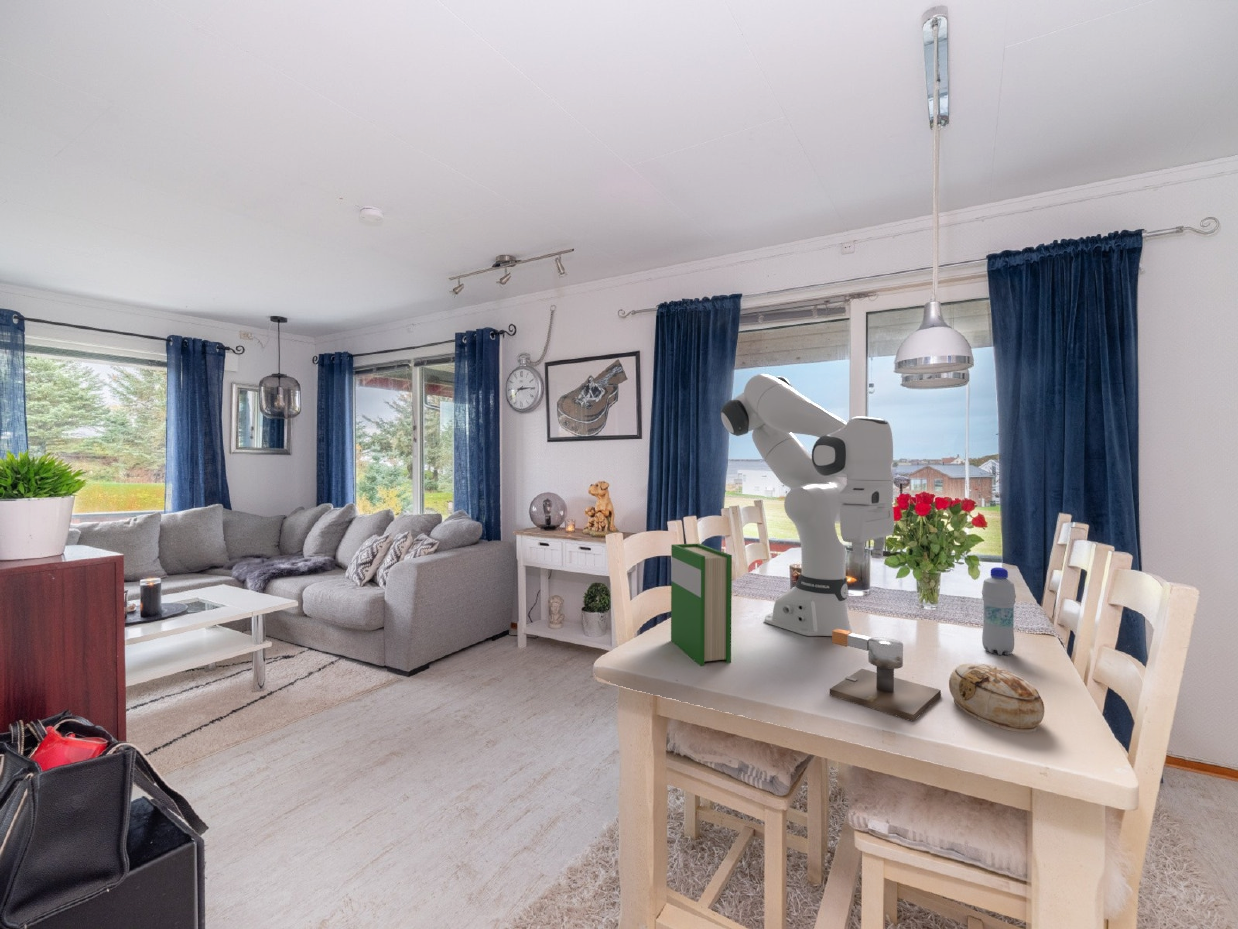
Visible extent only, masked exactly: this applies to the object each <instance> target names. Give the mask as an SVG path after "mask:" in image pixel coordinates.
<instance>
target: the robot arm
mask: <svg viewBox="0 0 1238 929" xmlns="http://www.w3.org/2000/svg"><path fill="white" fill-rule="evenodd" d="M743 390H744V391H743V392H742V393H741V394H739V395H737V396H736V397H734V398H733V399H730V400H728V401H726V403H725V404H723V406H721V410H720V412H719V414H720V417H721V421H722V424H723V426H724V427H725V429H726V430H727V431H728V432H729V433H730V434H732V435H733V436H736V437H740V436H744V435H746V434H748V433H749V432H750V431H751V432H752V433H751V434H752V435H751V438H752V441H753V443H754V445H755V447H756V450H757V451H758V453H759V454H760V456H761V458H762V459H763V461H764V462H765V463H766V464H767V466H768V467H769V468H770V470H771V471H772V473H773V474H774V475H775V476H776V478H777V479H778V480H779V482H780V483H781V484H783V485H784V486H785V487H788V488H789V489H791V490H789V491H788V492H787V494H786V495H785V497H784V498H785V499H784V504H783V505H784V506H783V507H784V511H785V514H786V516H787V517H788V518H789V520H790V521H791V522H792V523H793V524H794V526H795V529H796V530H797V534H798V536H799V537H798V538H799V542H800V543H799V544H800V548H801V549H800V550H801V573H798V574H797V575H795V576H793V577H792V582H795V585H794V587H792V588H790V589H789V590H788V591H786V592H785V593H783V594H782V595H780V596H778V597H777V599H776V600H775V602H774V604H773V608H772V609H773V610H772V612H771V613H768V614H767V615H765V617H764V623H766V624H769V625H772V626H775V627H777V628H781V629H785V630H787V631H790V632H794V633H797V634H800V635H803V636H806V637H814V636H815V637H816V636H817V637H818V636H824V637H825V636H827V637H832V631H833V630H835V629H841V630H846V631H850V632H853V631H852V628H851V624H850V620H849V614H848V608H847V597H848V577H846V559H847V557H846V552H847V551H846V547H845V546H844V544H843V543H842V542H841V541H840V539H839V537H838V532H837V530H836V524H838V523H839V528H840V536H841V539H842V541H843V542H846V543H851V548H852V551H853V554H854V560H853V561H854V563H856V564H860V565H862V564H863V565H864V564H865V563H866V562H867V554H865V553H866V552H865V547H866V542H869V541H872V540H873V548H872V549H871V557H872V558H874V559H881V558H883V556H884V548H885V545H886V537H889V536H893V535H894V533H895V532H894V531H895V518H894V517H895V514H894V506H893V503H894V477H893V473H892V464H893V460H894V441H893V432H892V427H891V425H890V423H889V421H887V420H886V419H884V418H879V417H874V416H873V417H869V416H861V415H860V416H859V415H858V416H854V417H851V418H849V420H848V421H845V420H844V419H842V418H840V416H837V415H836V414H834V413H832V412H830V411H828V410H827V409H825V408H823V407H821V406H820V405H818V404H817V403H815V402H813V401H811V400H810V399H809V398H808V397H805V396H804V395H802V394H801V393H800V392H798V391H797V390H795V388H794V386H793V385H792V383H791V382H790V381H789V380H788V379H787V378H786V377H784V376H782V375H777V376H772V375H769V374H765V373H760V374H757V375H754V376H753V377H751V378H750V379H749V380H748V381H747V383H746V384H745V386H744V389H743ZM795 434H798V435H807V436H813V437H817V438H818V439H816V441H815V443H814V445H813V447H812V449H811V453H810V452H809V451H808V449H807V448H806V447H805V446H804V445H803V443H802V442H801V441H800V440H799V439H798V437H797V436H795ZM840 478H846V482H844V481H842V480H841V479H840Z"/></svg>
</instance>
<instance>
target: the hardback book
mask: <svg viewBox="0 0 1238 929" xmlns="http://www.w3.org/2000/svg"><path fill="white" fill-rule="evenodd" d="M670 549H671V551H670V553H671V554H670V555H671V557H670V558H671V562H670V563H671V566H670V568H671V570H670V574H671V575H670V576H671V577H670V578H671V579H670V581H671V582H670V584H671V586H670V590H671V591H670V594H671V595H670V596H671V597H670V641H671V642H672V643H673V644H674V645H675V646H677V647H678V649H680V650H681V651H682V652H683V653H685V655H687V656H688V657H689V658H691V659H692V660H693V661H694V662H695V663H696V664H697V665H699V666H700V667H703V666H705V662H711V661H712V662H713V661H721V660H722V661H724V662H725V663H726V664H731V663H732V601H733V600H732V596H733V594H732V590H733V589H732V588H733V587H732V585H733V582H732V580H733V578H732V577H733V576H732V573H733V572H732V570H733V569H732V568H733V565H732V564H733V563H732V561H733V560H732V558H733V557H732V556H733V555H732V554H730V553H728V552H724V551H721V550H719V549H715V548H712V547H710V546H707V545H704V544H703V543H702V544H701V543H681V544H680V543H678V544H671V548H670Z"/></svg>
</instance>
